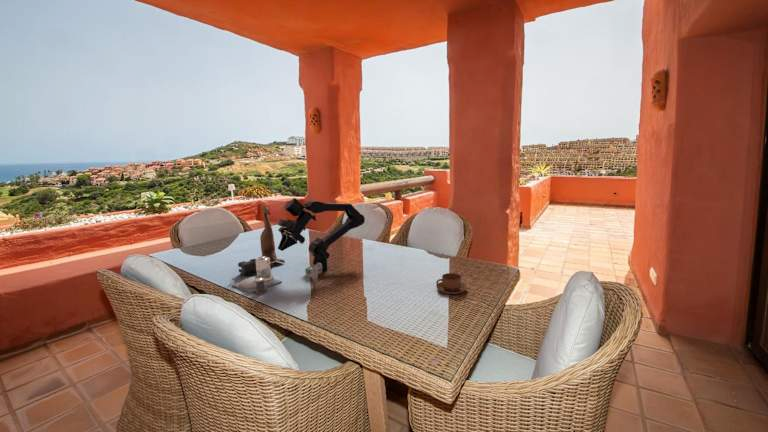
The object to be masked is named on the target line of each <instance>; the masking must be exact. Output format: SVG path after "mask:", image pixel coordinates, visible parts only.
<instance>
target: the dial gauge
mask: <svg viewBox="0 0 768 432" xmlns="http://www.w3.org/2000/svg"><path fill="white" fill-rule="evenodd" d="M255 281H256V287H257V289H256V290H254V293H255V294H256V295H257V296H259V295H263V294H267V293H268V290H267V288H264V278H263V277H260V278H256V279H255Z"/></svg>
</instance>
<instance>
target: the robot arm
mask: <svg viewBox="0 0 768 432" xmlns="http://www.w3.org/2000/svg"><path fill="white" fill-rule="evenodd" d="M283 208H284V210H285V211H286V212H287V213H288V214H289V215H291V216H292V217H296V218H295V219H293V220H292V219H289V218H287V219H282V218H280V219H279V220H278V223H277V226H278V227H279V226H280V227H279V228H278V232H279V233H280V234H281V239H280V242H279V245H278V246H277V249H278V250H279V251H281V252H283V251H285V250H286V249H288V248H291V247H293V246H294V245H297V244H298V243H299V244H301V245H303V244H304V243H305V241H306V238H305V236H303V235H302V234H301V233H303V231H305V230H307V228H306V227H307V226H308V225H309V223H310V222H311V221H314V222H316V221H317V220H316V219H317V218H316V215H315V214H319V213H320V214H321V213H324V212H345V215H346V216H347V218H346V220H345V221H344V222H343V224H340V225H339V226H338V227H337V228H335V230H333V231H331V232H330V233H329V234H327V235H325V237H323V238H320V237H316V238H314V240H313V241H310V244H309V245H308V252H309V253H310V254H311V255H312V257H313V260H312V265H316V264H317V263H321V264H322V272H327V271H328V270H329V267H330V266H329V260H328V259H329V258H330V253H329V252H328V249H329V247H330V246H331V245H332V244H333V243H335V242H336V241H337V240H339V239H340V238H342V237H343V236H344V235H345V234H347V233H348V232H349V231H351V230H353V229H355V228H356V229H357V228H358V227H361V226H363V224H365V220H366V219H365V216H364V215H363V214H361V213H360V212H359V211H358V210H357V209H356V208H355V206H353V205H352V204H351V203H347V202H345V203H339V202H337V203H336V202H335V203H334V202H332V203H331V202H322V201H317V200H313V199H311V200H310V199H309V200H308V201H307V202H305V203H303V204H302V203H301V202H299V200H298V199H297V198H295V197H293V198H292V199H291V200H290V201H288V202H286V203H285V205H284V207H283Z"/></svg>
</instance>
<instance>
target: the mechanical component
mask: <svg viewBox="0 0 768 432" xmlns="http://www.w3.org/2000/svg"><path fill="white" fill-rule="evenodd" d="M304 271H305V276H306V277H308V278H311V279H312V287H313V288H312V289H313V290H314V289H315V290H317V289H318V284H317V283H318V281H317V279H318V278H319V277H318V275H319V274H321V273H322V272H323V271H322V264H321V263H317V264H316V265H313V264H311V265H309V266H308V267H306V268H305V270H304Z"/></svg>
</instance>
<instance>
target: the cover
mask: <svg viewBox="0 0 768 432" xmlns="http://www.w3.org/2000/svg"><path fill="white" fill-rule="evenodd" d="M255 259H256V271H257V273H256V275H255V276H256V277H255V279H256V278H260V277H263V278H264V282H268V281H271V280H273V279H275V278H274V274H272V268H271V263H270V258H269V257H266V256H262V255H261V256H259V257H257V258H255Z"/></svg>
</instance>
